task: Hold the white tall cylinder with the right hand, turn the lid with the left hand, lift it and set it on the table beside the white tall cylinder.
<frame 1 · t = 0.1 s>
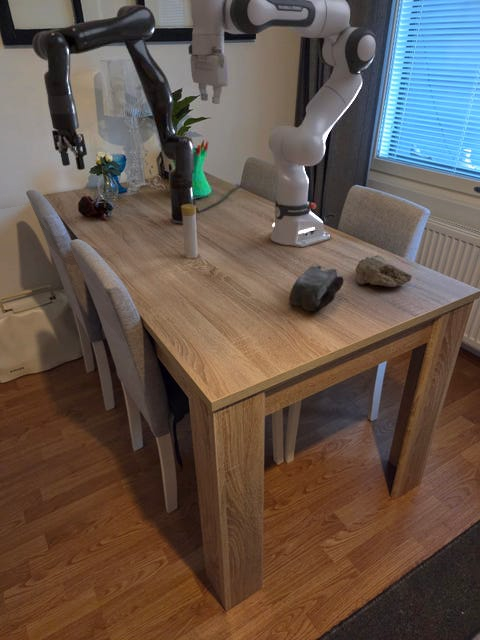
left hand: (73, 167, 141), 29 cm above the table, tool pointing down, fingers open, 8 cm apart
right hand: (210, 102, 132), 48 cm above the table, tool pointing down, fingers open, 8 cm apart
rock: (316, 301, 127), on the table
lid: (188, 207, 145), point 17 cm above the table, screwed on, not yet turned
toy: (96, 218, 188), on the table
toy 2: (190, 195, 217), on the table
artifact: (376, 279, 139), on the table
white tall cylinder: (191, 255, 154), on the table
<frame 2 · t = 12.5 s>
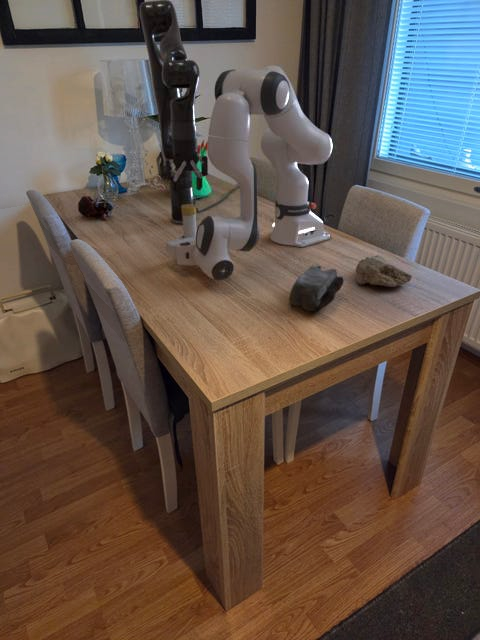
left hand: (187, 191, 142), 22 cm above the table, tool pointing down, fingers open, 7 cm apart
right hand: (189, 236, 151), 7 cm above the table, tool horizontal, fingers closed on white tall cylinder, 4 cm apart
white tall cylinder: (191, 255, 154), on the table, touching right hand
everything else where it was.
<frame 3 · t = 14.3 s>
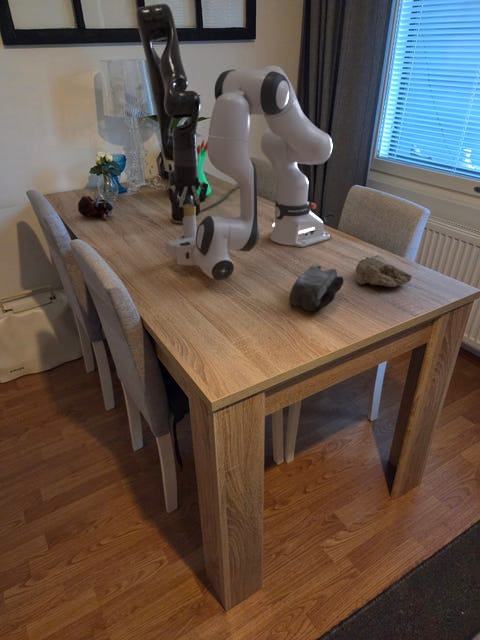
left hand: (189, 216, 147), 14 cm above the table, tool pointing down, fingers closed on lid, 4 cm apart
right hand: (189, 236, 151), 7 cm above the table, tool horizontal, fingers closed on white tall cylinder, 4 cm apart
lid: (188, 207, 145), point 17 cm above the table, screwed on, not yet turned, touching left hand
white tall cylinder: (191, 255, 154), on the table, touching right hand
everything else where it was.
when the left hand's fingers open (15 cm above the table, at t = 15.9 s): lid stays where it is, point 17 cm above the table.
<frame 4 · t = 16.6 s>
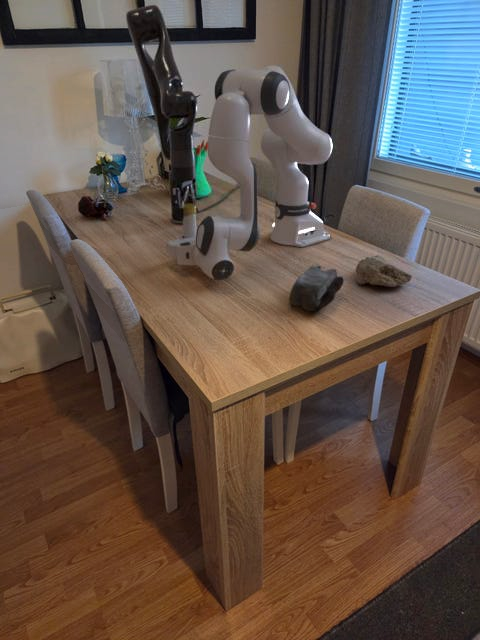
left hand: (186, 214, 147), 15 cm above the table, tool pointing down, fingers open, 7 cm apart
right hand: (189, 236, 151), 7 cm above the table, tool horizontal, fingers closed on white tall cylinder, 4 cm apart
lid: (188, 206, 145), point 17 cm above the table, turned 85° so far, risen 0.2 cm, still on its thread
white tall cylinder: (191, 255, 154), on the table, touching right hand
everything else where it was.
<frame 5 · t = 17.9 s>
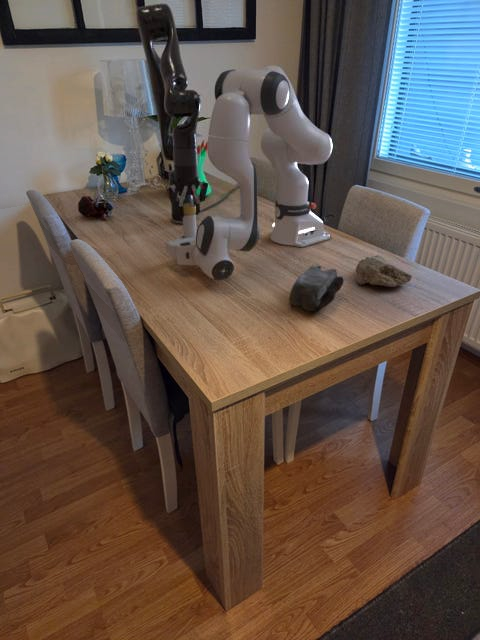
left hand: (189, 215, 147), 14 cm above the table, tool pointing down, fingers closed on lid, 4 cm apart
right hand: (189, 236, 151), 7 cm above the table, tool horizontal, fingers closed on white tall cylinder, 4 cm apart
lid: (188, 206, 145), point 17 cm above the table, turned 85° so far, risen 0.2 cm, still on its thread, touching left hand
white tall cylinder: (191, 255, 154), on the table, touching right hand
everything else where it was.
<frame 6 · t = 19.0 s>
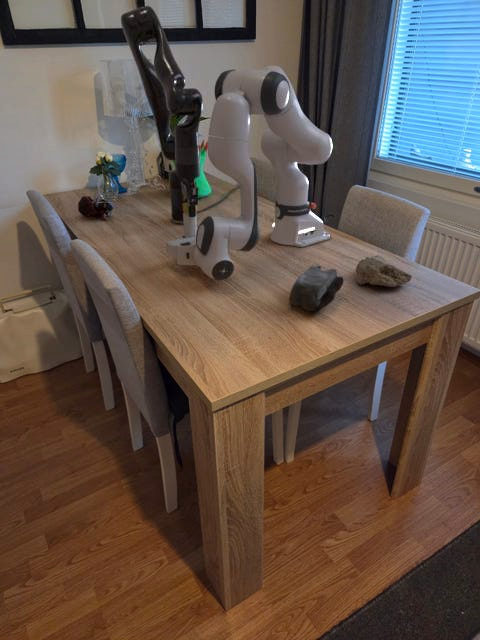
left hand: (190, 214, 147), 15 cm above the table, tool pointing down, fingers closed on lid, 4 cm apart
right hand: (189, 236, 151), 7 cm above the table, tool horizontal, fingers closed on white tall cylinder, 4 cm apart
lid: (190, 205, 145), point 18 cm above the table, off its thread, touching left hand
white tall cylinder: (191, 255, 154), on the table, touching right hand
everything else where it was.
when the left hand's fingers open (0 cm above the table, at t = 23.8 s): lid drops 1 cm, point 2 cm above the table.
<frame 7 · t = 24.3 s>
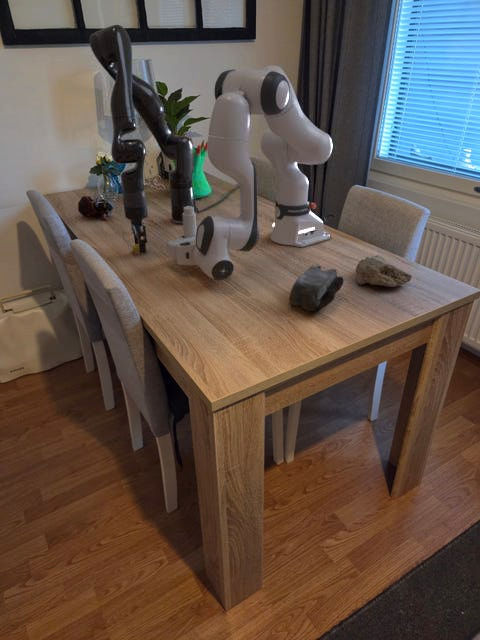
left hand: (140, 248, 157), 1 cm above the table, tool pointing down, fingers open, 8 cm apart
right hand: (189, 236, 151), 7 cm above the table, tool horizontal, fingers closed on white tall cylinder, 4 cm apart
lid: (139, 246, 156), point 2 cm above the table, off its thread
white tall cylinder: (191, 255, 154), on the table, touching right hand
everything else where it was.
when the right hand's fingers open (7 cm above the table, at t = 24.9 s): white tall cylinder stays where it is, on the table.
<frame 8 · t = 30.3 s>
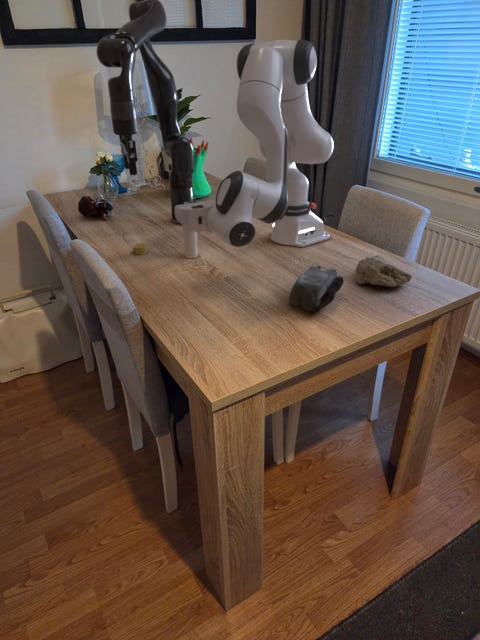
left hand: (130, 171, 143), 28 cm above the table, tool pointing down, fingers open, 8 cm apart
right hand: (201, 202, 133), 22 cm above the table, tool horizontal, fingers open, 8 cm apart
white tall cylinder: (191, 255, 154), on the table
everything else where it was.
at the end: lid came off its thread; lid point 1.9 cm above the table; the left hand is holding nothing; the right hand is holding nothing; white tall cylinder tilted 0°; white tall cylinder moved 0.0 cm from its start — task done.
